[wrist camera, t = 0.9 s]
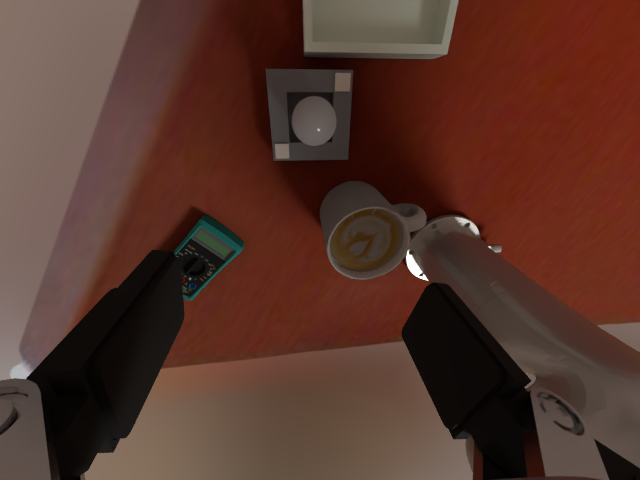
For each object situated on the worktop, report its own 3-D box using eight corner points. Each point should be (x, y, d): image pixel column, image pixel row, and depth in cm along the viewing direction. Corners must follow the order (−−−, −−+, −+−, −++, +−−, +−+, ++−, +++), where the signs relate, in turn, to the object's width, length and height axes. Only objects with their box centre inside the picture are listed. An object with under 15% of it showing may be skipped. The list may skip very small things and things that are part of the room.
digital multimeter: (154, 271, 39) (144, 283, 37) (206, 211, 35) (199, 219, 33) (194, 293, 42) (187, 306, 40) (247, 240, 38) (243, 250, 36)
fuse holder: (347, 73, 28) (353, 69, 25) (343, 154, 32) (348, 160, 29) (269, 72, 27) (265, 68, 24) (275, 155, 32) (273, 161, 28)
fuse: (325, 98, 28) (337, 96, 20) (325, 135, 30) (335, 145, 22) (292, 98, 28) (290, 95, 20) (294, 135, 30) (293, 146, 22)
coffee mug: (320, 243, 39) (327, 283, 30) (318, 182, 34) (325, 209, 25) (401, 237, 40) (430, 274, 31) (410, 177, 35) (448, 201, 26)
